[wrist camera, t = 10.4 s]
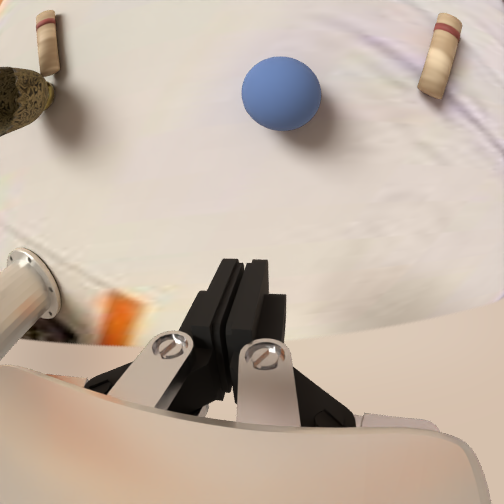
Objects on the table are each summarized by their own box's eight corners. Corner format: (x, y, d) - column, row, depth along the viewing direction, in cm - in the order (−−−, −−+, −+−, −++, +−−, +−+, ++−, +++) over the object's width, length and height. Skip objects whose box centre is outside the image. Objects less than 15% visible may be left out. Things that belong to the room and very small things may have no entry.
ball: (242, 40, 17) (261, 69, 23) (221, 113, 19) (246, 129, 24) (326, 50, 16) (328, 80, 22) (308, 129, 18) (314, 144, 23)
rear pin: (64, 66, 23) (59, 10, 19) (47, 68, 21) (43, 9, 17) (53, 75, 24) (47, 20, 20) (36, 78, 22) (32, 20, 18)
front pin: (425, 95, 21) (445, 25, 17) (446, 102, 19) (466, 29, 15) (411, 83, 20) (433, 11, 16) (434, 89, 18) (455, 14, 14)
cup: (77, 85, 24) (24, 87, 17) (49, 137, 27) (0, 151, 20) (47, 56, 23) (-2, 56, 15) (22, 105, 26) (-25, 114, 18)
